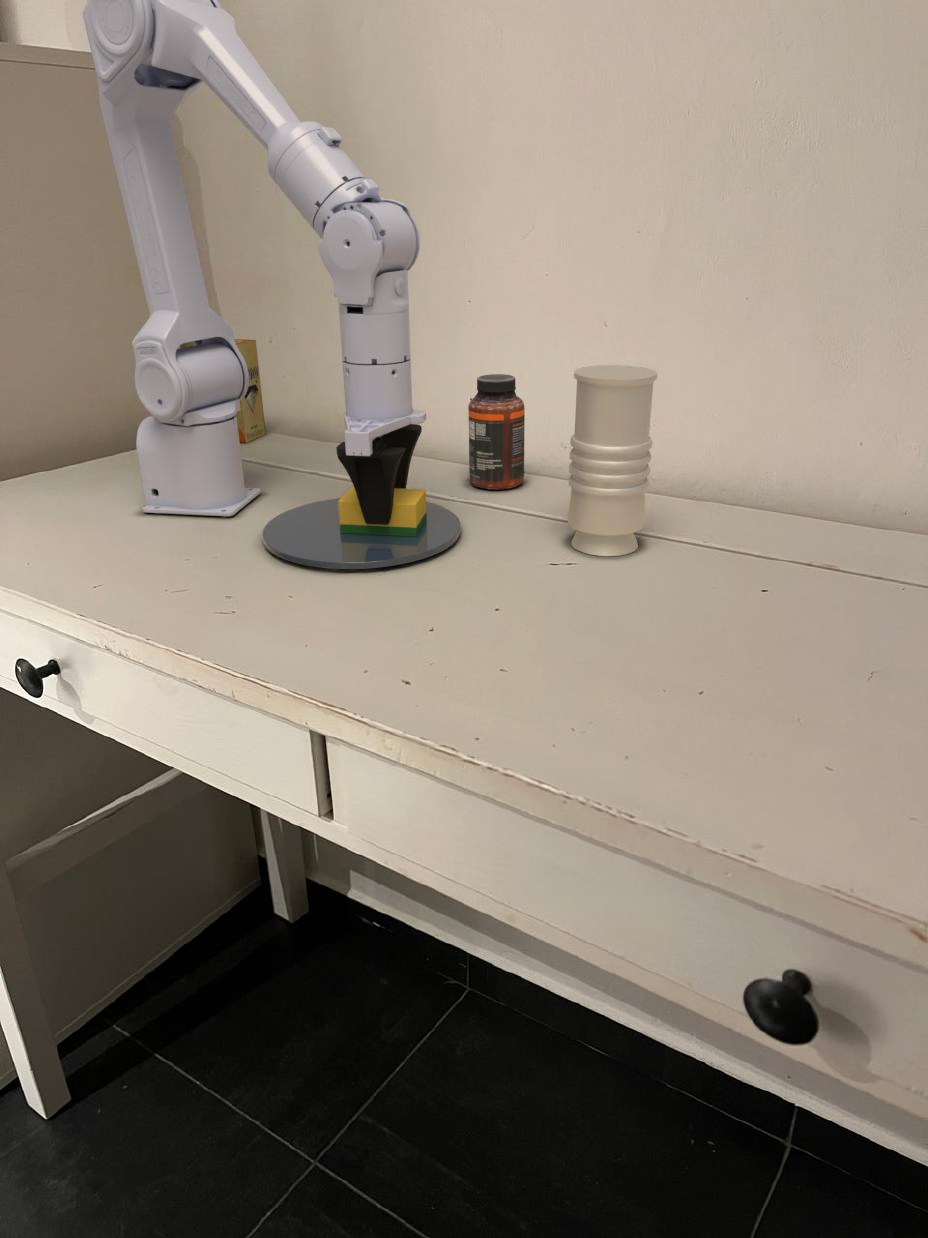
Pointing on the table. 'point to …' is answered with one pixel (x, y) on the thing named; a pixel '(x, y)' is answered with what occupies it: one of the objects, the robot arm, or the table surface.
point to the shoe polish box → (250, 396)
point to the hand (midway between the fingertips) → (384, 514)
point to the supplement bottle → (496, 434)
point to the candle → (610, 457)
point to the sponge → (403, 518)
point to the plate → (353, 538)
